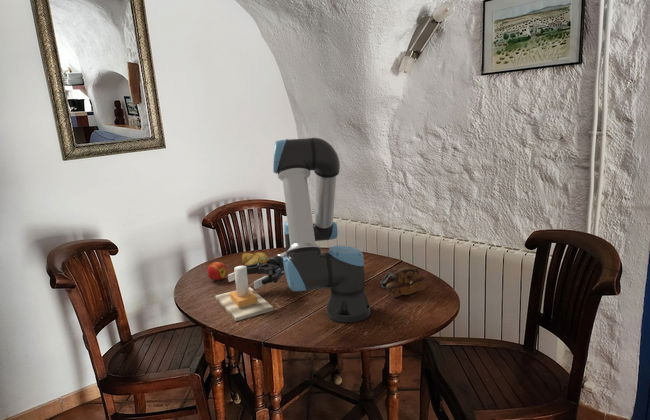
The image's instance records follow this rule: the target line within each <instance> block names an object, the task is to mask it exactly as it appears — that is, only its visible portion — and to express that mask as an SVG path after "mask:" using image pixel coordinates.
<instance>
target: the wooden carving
mask: <svg viewBox="0 0 650 420" xmlns="http://www.w3.org/2000/svg"><path fill="white" fill-rule="evenodd" d="M393 273H394V274H393V277H392V279H393V280H394V281H391V282H388V283H387V284H388V285H386V288H385V289H386V290H387V292H388V295H389V296H392V297H396V296H398V295H402V296H409V295H412V294H414V293H416V292H417V291H419V290H420V289H421V287H423V285H422V283H421V282H423V281H424V280H425V279H426V277H424V276H419V275H420V271H419V269H417V268H415V267H412V268H411V267H407V266H406V267H401V268H400V269H399V268H398V270H397V271H393Z"/></svg>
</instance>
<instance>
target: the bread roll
mask: <svg viewBox="0 0 650 420" xmlns="http://www.w3.org/2000/svg"><path fill="white" fill-rule="evenodd" d="M241 259H242V263H243V264H244V266H247V265H251V264H256V263H258V262H260V263H261V265H262V264H265V263H267V262H268V260H269V259H270V258H269V257H268V255H267V254H266V253H265V252H262V251H261V252H255V253H249V252H244V253H242V255H241Z"/></svg>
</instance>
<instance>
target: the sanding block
mask: <svg viewBox="0 0 650 420" xmlns="http://www.w3.org/2000/svg"><path fill="white" fill-rule="evenodd" d="M233 270H234V272H235V280H234V281H235V288H236V290H232V291H233V292H232V291H229V292H230V299H231V300H232V301H233V302H234V303H235V304H236V305H237V307H238V308H241V307H245V306H249V305H252V304H256V303H257V296H255V295H254V294H253V293H252V292H251V291H250V290H249V289H248V287H249V281H248V278H249V277H248V274H247V268H246V266H245V265H237V266H235V267H234V269H233Z"/></svg>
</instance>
